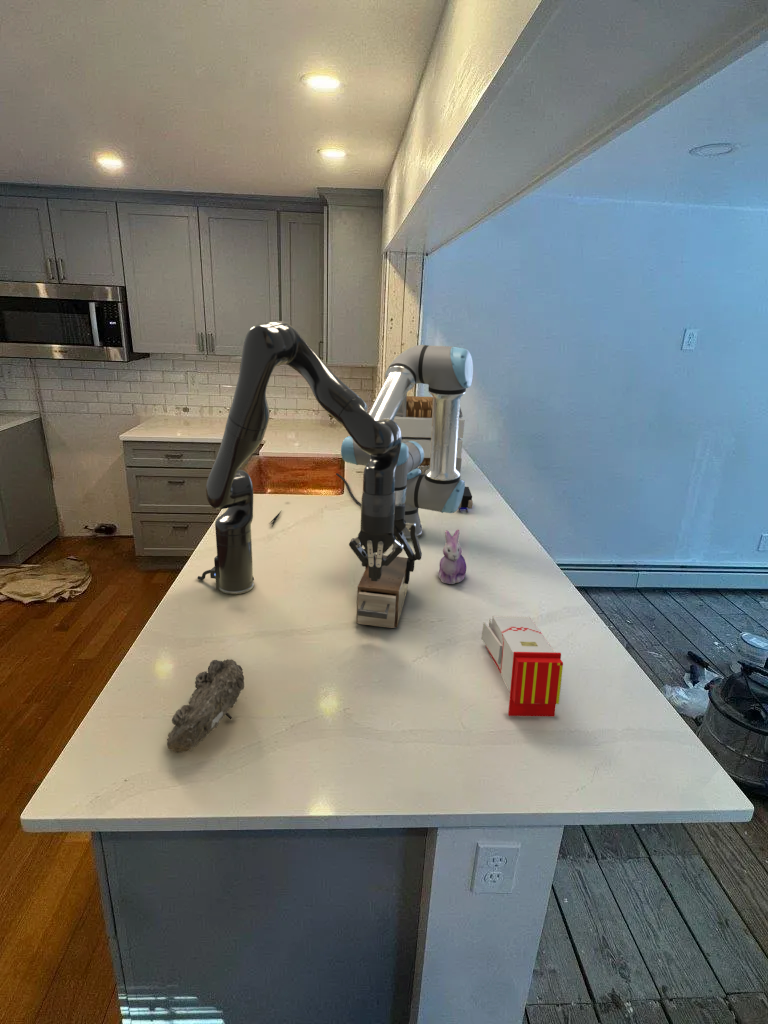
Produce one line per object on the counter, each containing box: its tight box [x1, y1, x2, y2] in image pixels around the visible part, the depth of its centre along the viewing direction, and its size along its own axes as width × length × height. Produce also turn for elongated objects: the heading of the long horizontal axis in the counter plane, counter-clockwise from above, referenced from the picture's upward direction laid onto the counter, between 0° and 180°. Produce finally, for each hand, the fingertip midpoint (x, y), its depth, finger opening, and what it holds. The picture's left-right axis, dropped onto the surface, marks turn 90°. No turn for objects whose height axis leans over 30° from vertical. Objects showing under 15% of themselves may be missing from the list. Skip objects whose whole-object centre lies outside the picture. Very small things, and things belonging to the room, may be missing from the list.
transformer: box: [393, 393, 465, 475], centre depth 268 cm, size 34×33×41 cm
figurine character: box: [458, 486, 474, 513], centre depth 227 cm, size 7×8×15 cm
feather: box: [268, 510, 282, 527], centre depth 212 cm, size 2×28×2 cm
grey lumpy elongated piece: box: [166, 658, 245, 754], centre depth 106 cm, size 22×10×15 cm
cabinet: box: [356, 553, 409, 629], centre depth 149 cm, size 20×10×10 cm, turn 171°
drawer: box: [356, 591, 396, 629], centre depth 144 cm, size 24×9×8 cm, turn 171°
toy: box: [481, 615, 564, 718], centre depth 123 cm, size 12×13×30 cm
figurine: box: [438, 528, 467, 585], centre depth 166 cm, size 9×10×15 cm
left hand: (375, 579), depth 132 cm, fingers closed
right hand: (387, 579), depth 154 cm, fingers closed on cabinet, 10 cm apart
